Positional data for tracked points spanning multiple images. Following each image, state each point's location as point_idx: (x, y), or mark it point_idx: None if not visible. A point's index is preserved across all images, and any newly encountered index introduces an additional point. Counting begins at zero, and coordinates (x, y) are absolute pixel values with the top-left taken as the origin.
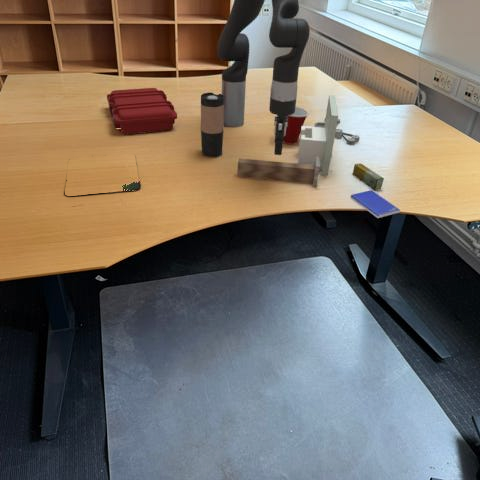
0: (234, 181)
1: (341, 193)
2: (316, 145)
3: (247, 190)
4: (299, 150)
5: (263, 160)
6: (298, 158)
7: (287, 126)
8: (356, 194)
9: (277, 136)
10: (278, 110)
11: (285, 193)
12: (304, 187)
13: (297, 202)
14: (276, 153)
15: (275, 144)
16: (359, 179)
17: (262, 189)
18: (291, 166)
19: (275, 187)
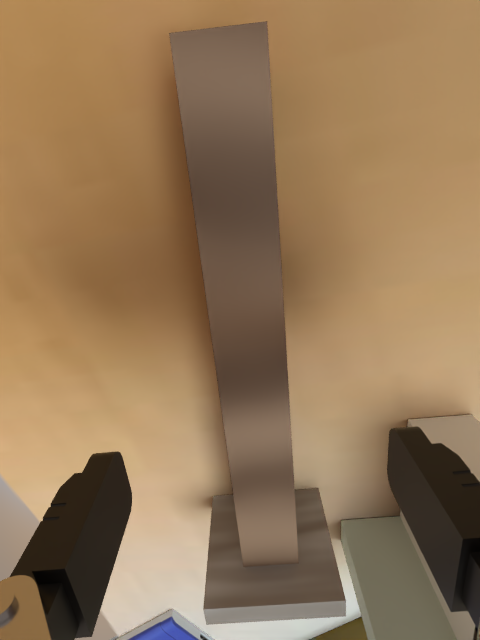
0: (106, 69)
1: (193, 585)
2: None
3: (27, 195)
4: None
5: (280, 271)
6: (454, 446)
7: None
8: (180, 635)
9: (427, 496)
10: None
11: (94, 398)
12: (191, 467)
13: (36, 454)
14: (75, 483)
15: (45, 554)
16: (332, 630)
17: (82, 281)
18: (240, 461)
19: (136, 345)
